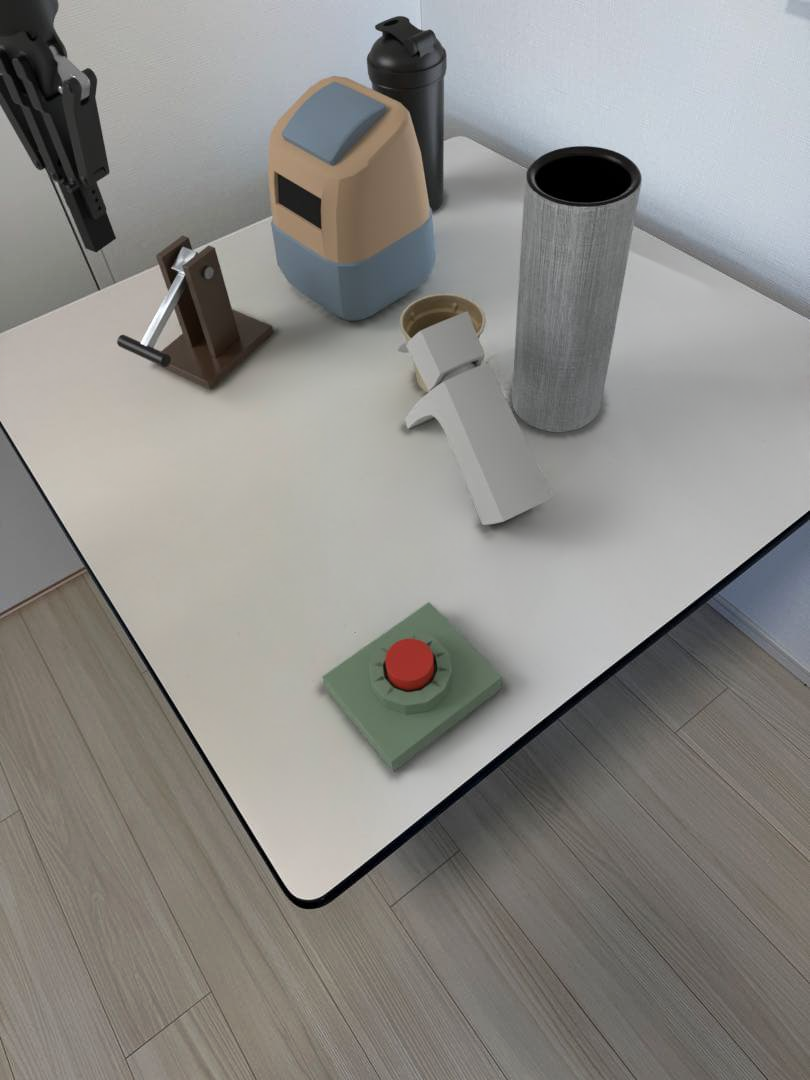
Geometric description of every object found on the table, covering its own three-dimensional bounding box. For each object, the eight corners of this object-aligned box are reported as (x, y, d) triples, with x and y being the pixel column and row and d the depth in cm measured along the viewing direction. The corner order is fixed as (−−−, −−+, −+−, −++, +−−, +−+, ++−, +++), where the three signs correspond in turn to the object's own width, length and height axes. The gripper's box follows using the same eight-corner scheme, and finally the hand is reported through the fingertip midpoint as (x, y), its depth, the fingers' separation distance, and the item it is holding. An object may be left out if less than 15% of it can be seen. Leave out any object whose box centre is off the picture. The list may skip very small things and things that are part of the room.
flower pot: (501, 377, 96) (503, 317, 89) (445, 419, 92) (443, 360, 85) (443, 342, 100) (441, 282, 93) (387, 381, 96) (381, 322, 89)
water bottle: (417, 174, 124) (409, 3, 105) (463, 199, 119) (463, 25, 100) (365, 200, 120) (347, 28, 102) (410, 228, 115) (399, 53, 97)
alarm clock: (271, 285, 109) (231, 107, 91) (366, 232, 115) (347, 55, 97) (351, 341, 101) (326, 159, 83) (448, 281, 107) (445, 99, 89)
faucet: (502, 522, 77) (414, 325, 75) (448, 530, 92) (374, 367, 91) (557, 495, 78) (472, 301, 77) (494, 508, 94) (423, 347, 92)
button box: (393, 772, 68) (389, 753, 64) (325, 688, 73) (318, 666, 70) (501, 688, 72) (503, 667, 68) (429, 614, 77) (428, 590, 73)
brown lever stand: (210, 390, 97) (177, 292, 86) (156, 364, 101) (118, 268, 90) (273, 333, 103) (250, 235, 92) (220, 311, 106) (192, 213, 95)
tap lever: (169, 371, 92) (156, 362, 89) (125, 350, 94) (112, 341, 92) (224, 268, 92) (212, 257, 90) (179, 251, 95) (167, 240, 92)
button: (406, 699, 68) (405, 689, 66) (377, 666, 70) (375, 656, 68) (443, 671, 69) (443, 661, 68) (414, 640, 71) (413, 629, 70)
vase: (615, 390, 93) (661, 160, 71) (576, 446, 88) (611, 217, 67) (537, 361, 97) (558, 134, 75) (495, 413, 92) (504, 187, 70)
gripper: (87, -44, 60) (176, 242, 79) (-27, -67, 65) (82, 207, 84) (8, -7, 57) (120, 283, 75) (-106, -35, 61) (26, 244, 80)
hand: (100, 243), depth 80 cm, fingers closed
